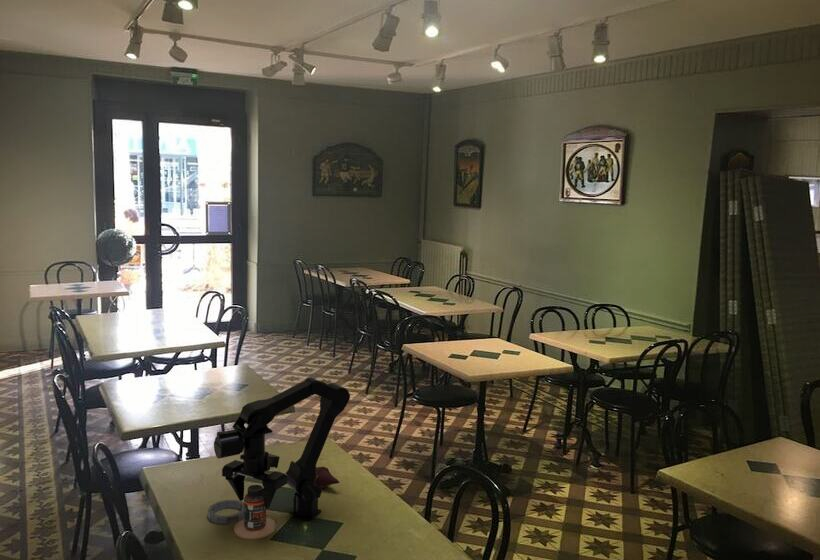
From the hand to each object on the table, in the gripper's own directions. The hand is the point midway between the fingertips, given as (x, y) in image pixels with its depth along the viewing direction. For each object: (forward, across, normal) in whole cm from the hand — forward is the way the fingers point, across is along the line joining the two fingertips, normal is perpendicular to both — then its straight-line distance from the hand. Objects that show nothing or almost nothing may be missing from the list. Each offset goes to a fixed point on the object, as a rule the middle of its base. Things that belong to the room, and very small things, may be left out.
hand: (254, 504), depth 181 cm
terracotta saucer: (+7, 0, 0) cm, 7 cm away
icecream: (+7, -1, -31) cm, 31 cm away
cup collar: (+7, +12, -2) cm, 14 cm away
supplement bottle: (+7, 0, 0) cm, 7 cm away
